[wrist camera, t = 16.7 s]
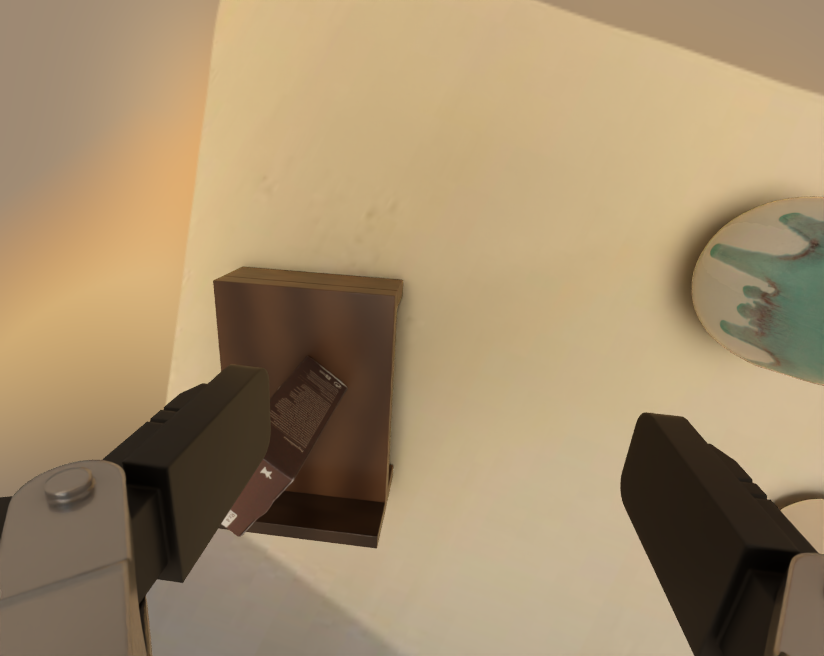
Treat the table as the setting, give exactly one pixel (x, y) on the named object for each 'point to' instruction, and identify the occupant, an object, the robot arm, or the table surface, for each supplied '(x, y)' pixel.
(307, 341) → the rack
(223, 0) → the table surface
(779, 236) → the vase
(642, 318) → the table surface
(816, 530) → the cup
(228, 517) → the box
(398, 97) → the table surface
